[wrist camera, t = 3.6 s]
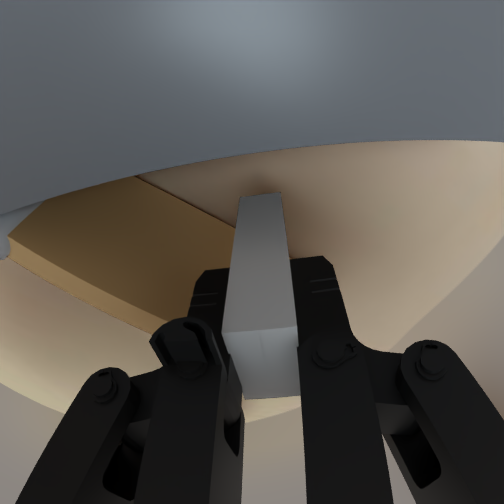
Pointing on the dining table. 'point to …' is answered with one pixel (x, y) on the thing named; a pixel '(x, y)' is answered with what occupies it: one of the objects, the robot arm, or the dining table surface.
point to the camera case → (233, 82)
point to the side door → (119, 248)
